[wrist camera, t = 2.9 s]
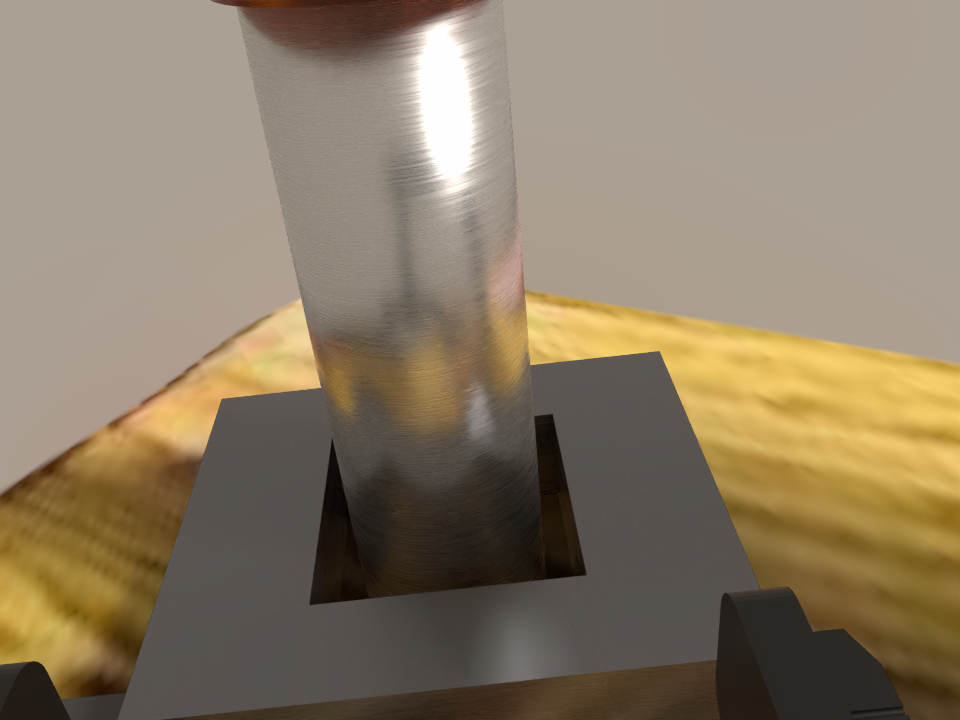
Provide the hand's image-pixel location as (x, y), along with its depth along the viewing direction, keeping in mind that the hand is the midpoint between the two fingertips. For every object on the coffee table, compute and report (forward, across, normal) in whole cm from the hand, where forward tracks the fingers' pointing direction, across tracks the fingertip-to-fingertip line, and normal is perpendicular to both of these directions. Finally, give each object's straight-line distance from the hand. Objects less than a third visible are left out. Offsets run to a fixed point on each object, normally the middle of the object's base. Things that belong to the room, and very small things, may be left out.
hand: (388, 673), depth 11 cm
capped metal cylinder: (+11, 0, +10) cm, 15 cm away
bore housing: (+11, 0, +10) cm, 15 cm away
